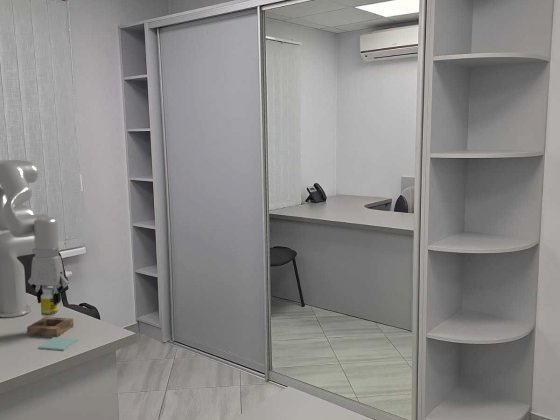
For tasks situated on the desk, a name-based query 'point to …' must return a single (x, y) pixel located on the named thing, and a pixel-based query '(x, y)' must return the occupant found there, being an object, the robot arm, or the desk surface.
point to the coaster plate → (58, 343)
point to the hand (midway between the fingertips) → (49, 302)
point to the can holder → (50, 327)
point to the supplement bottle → (48, 302)
